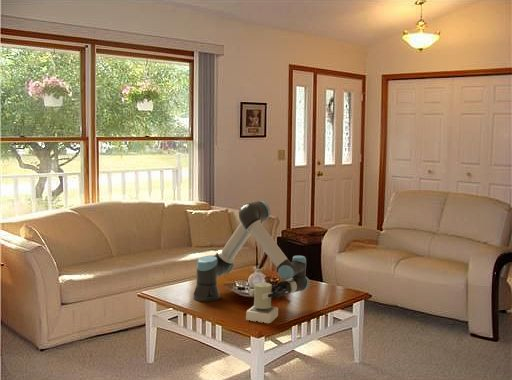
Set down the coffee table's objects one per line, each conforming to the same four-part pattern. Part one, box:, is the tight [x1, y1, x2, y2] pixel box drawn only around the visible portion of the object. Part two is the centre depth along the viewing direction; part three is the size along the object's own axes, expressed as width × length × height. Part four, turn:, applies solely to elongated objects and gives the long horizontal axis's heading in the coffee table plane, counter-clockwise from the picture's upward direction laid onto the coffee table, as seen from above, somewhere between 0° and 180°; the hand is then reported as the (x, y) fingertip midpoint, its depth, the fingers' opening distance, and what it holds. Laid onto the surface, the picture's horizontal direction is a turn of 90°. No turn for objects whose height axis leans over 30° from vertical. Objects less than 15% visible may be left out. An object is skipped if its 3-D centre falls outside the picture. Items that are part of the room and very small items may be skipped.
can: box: [253, 282, 273, 309], centre depth 326 cm, size 9×9×12 cm
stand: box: [245, 305, 279, 324], centre depth 328 cm, size 13×13×5 cm
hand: (256, 294), depth 323 cm, fingers closed on can, 9 cm apart
